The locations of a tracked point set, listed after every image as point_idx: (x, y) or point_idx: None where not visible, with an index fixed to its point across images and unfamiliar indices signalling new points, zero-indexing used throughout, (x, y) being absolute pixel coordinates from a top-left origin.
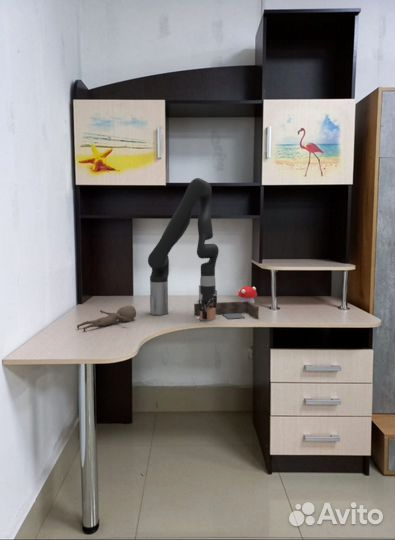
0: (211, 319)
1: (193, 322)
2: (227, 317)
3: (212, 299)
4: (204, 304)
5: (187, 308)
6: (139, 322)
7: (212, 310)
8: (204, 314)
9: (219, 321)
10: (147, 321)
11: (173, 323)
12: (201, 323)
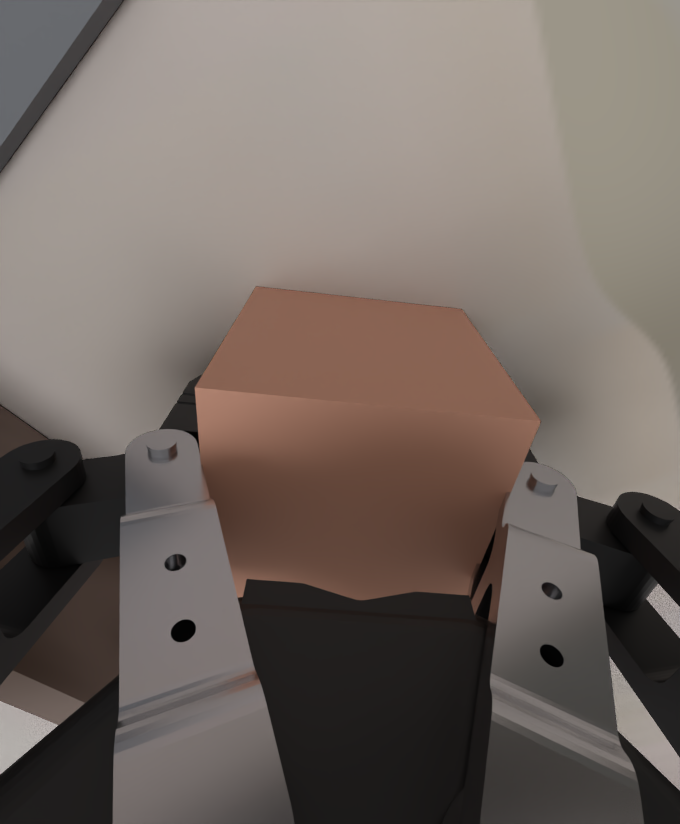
0: (404, 309)
1: (597, 483)
2: (65, 12)
3: (235, 789)
4: (73, 680)
5: (33, 716)
6: (660, 770)
7: (380, 386)
8: (526, 456)
9: (414, 107)
10: None
11: (675, 619)
12: (644, 369)
